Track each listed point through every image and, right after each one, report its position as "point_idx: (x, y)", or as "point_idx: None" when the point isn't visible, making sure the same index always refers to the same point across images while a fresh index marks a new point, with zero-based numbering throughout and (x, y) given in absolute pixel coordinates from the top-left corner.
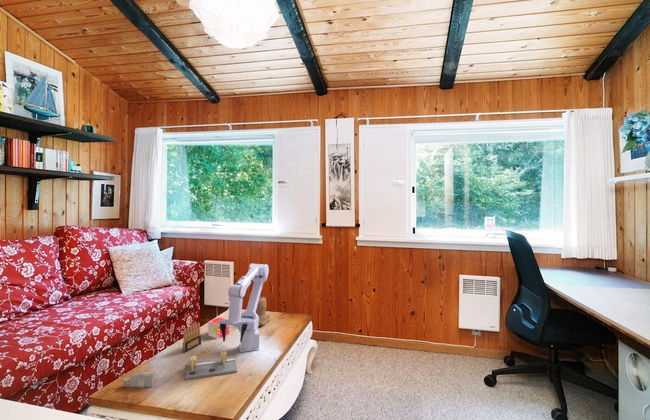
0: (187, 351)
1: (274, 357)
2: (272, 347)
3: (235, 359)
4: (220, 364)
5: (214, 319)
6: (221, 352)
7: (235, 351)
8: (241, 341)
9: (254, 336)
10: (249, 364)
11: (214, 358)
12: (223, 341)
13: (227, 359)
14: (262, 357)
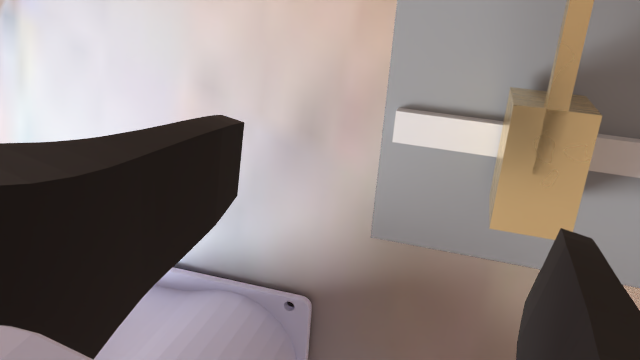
0: None
1: (13, 53)
2: None
3: (384, 140)
4: (587, 91)
5: None
6: (564, 225)
7: (353, 340)
8: (219, 115)
9: None
10: (253, 5)
11: (621, 272)
12: (585, 237)
13: (474, 179)
14: (117, 102)
